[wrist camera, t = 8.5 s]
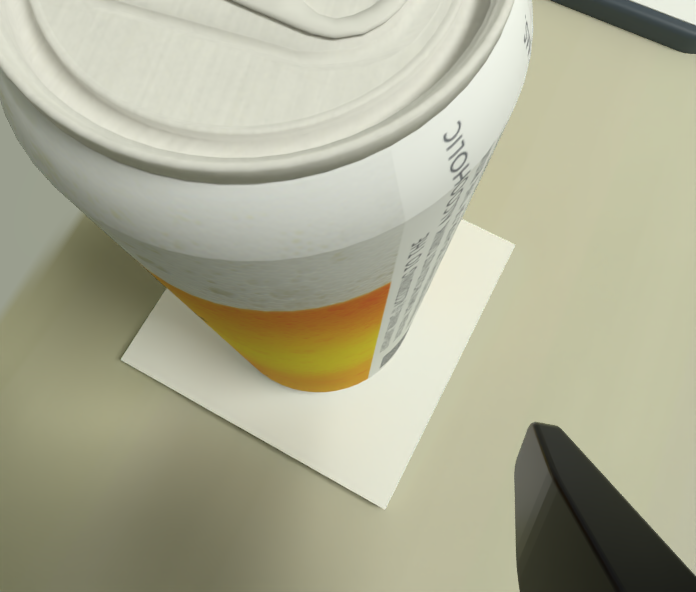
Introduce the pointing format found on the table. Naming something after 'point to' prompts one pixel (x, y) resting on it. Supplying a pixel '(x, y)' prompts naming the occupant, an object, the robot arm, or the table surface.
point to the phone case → (647, 19)
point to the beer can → (272, 153)
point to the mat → (343, 405)
